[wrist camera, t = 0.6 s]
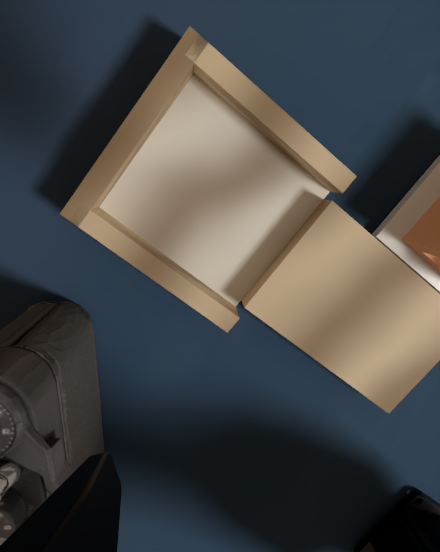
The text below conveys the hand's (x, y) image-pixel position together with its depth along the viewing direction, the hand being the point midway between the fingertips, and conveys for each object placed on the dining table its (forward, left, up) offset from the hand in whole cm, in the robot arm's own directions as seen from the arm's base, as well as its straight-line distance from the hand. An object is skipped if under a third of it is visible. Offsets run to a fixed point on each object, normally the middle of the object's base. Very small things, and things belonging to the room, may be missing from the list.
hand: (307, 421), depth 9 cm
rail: (-2, -3, -13) cm, 13 cm away
